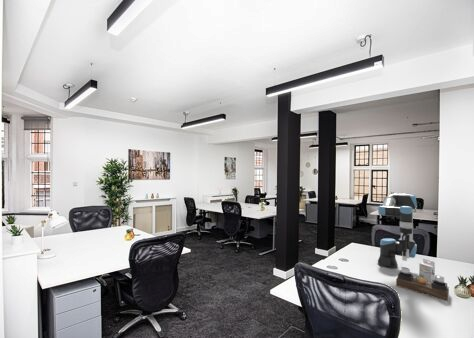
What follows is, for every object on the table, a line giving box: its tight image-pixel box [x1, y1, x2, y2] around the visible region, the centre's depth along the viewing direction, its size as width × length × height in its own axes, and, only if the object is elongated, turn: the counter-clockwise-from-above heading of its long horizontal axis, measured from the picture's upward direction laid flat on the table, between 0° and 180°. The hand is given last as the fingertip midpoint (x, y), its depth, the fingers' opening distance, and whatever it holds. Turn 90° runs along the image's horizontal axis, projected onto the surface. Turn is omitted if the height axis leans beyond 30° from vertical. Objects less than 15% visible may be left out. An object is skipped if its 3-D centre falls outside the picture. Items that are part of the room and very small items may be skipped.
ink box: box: [418, 258, 436, 283], centre depth 188 cm, size 9×5×15 cm, turn 23°
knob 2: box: [435, 274, 445, 284], centre depth 163 cm, size 5×5×4 cm
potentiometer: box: [417, 277, 427, 284], centre depth 170 cm, size 4×4×3 cm
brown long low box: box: [395, 270, 450, 302], centre depth 170 cm, size 12×28×8 cm, turn 45°
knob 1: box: [400, 266, 411, 276], centre depth 176 cm, size 5×5×4 cm
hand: (405, 259), depth 177 cm, fingers open, 7 cm apart
